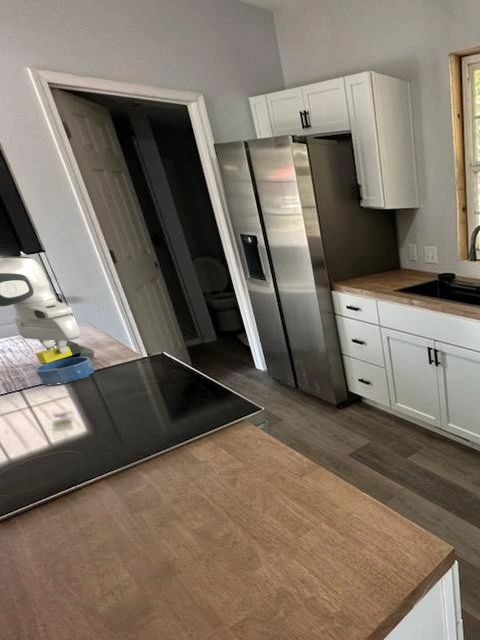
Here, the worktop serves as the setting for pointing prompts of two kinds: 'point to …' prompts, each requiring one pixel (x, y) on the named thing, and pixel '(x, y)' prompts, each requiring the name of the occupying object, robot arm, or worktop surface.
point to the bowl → (65, 370)
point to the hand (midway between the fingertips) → (58, 352)
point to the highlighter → (54, 355)
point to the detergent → (84, 353)
